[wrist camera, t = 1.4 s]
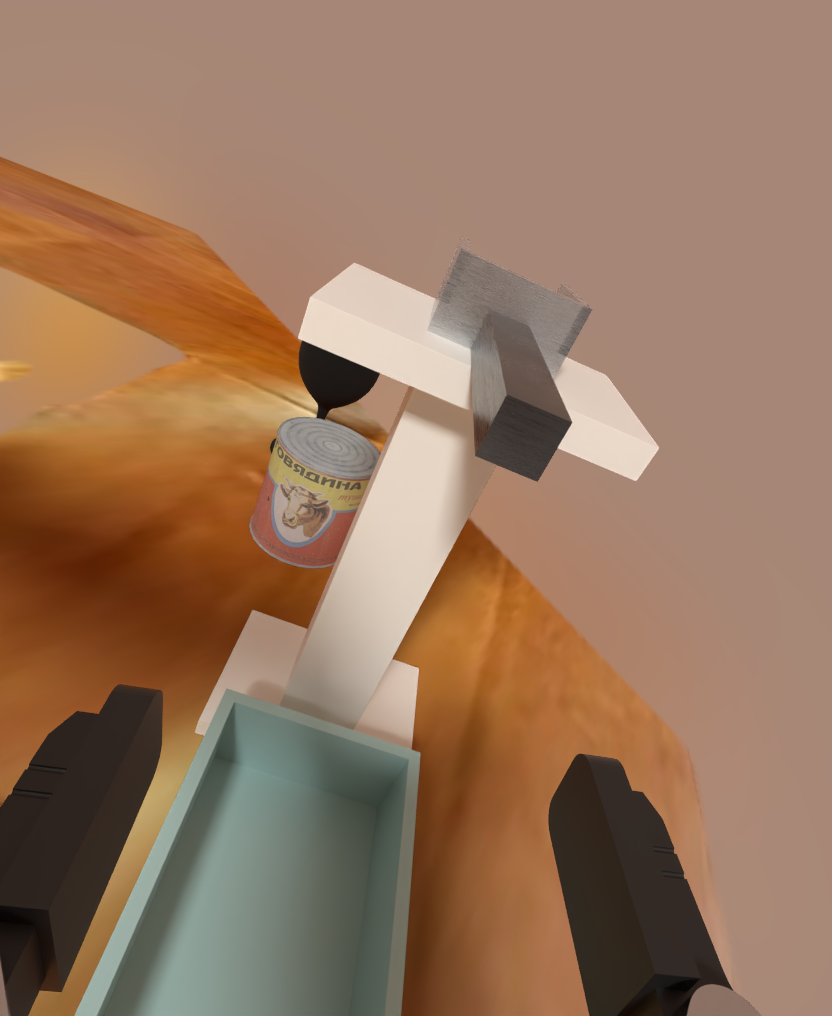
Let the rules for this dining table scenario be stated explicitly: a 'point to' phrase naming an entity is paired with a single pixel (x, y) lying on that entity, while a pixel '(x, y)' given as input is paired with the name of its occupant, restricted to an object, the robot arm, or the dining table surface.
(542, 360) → the brushed metal dustpan
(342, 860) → the bin
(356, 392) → the wine glass
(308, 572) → the dining table surface
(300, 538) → the canned food
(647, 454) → the white i-beam pedestal
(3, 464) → the dining table surface
